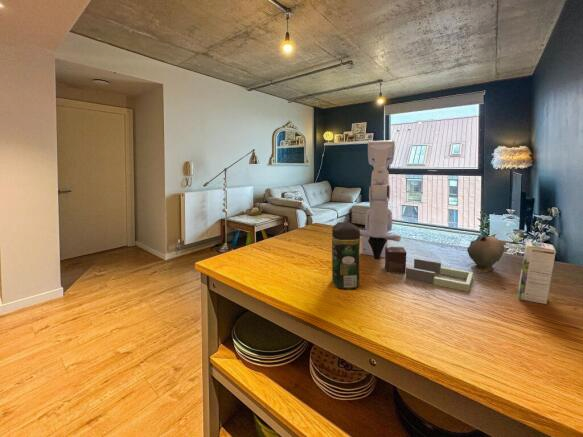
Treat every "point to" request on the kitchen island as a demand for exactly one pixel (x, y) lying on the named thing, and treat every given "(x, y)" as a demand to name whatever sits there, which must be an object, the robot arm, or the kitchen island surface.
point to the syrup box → (536, 272)
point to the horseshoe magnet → (427, 270)
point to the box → (395, 260)
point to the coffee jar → (345, 255)
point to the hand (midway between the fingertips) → (377, 258)
